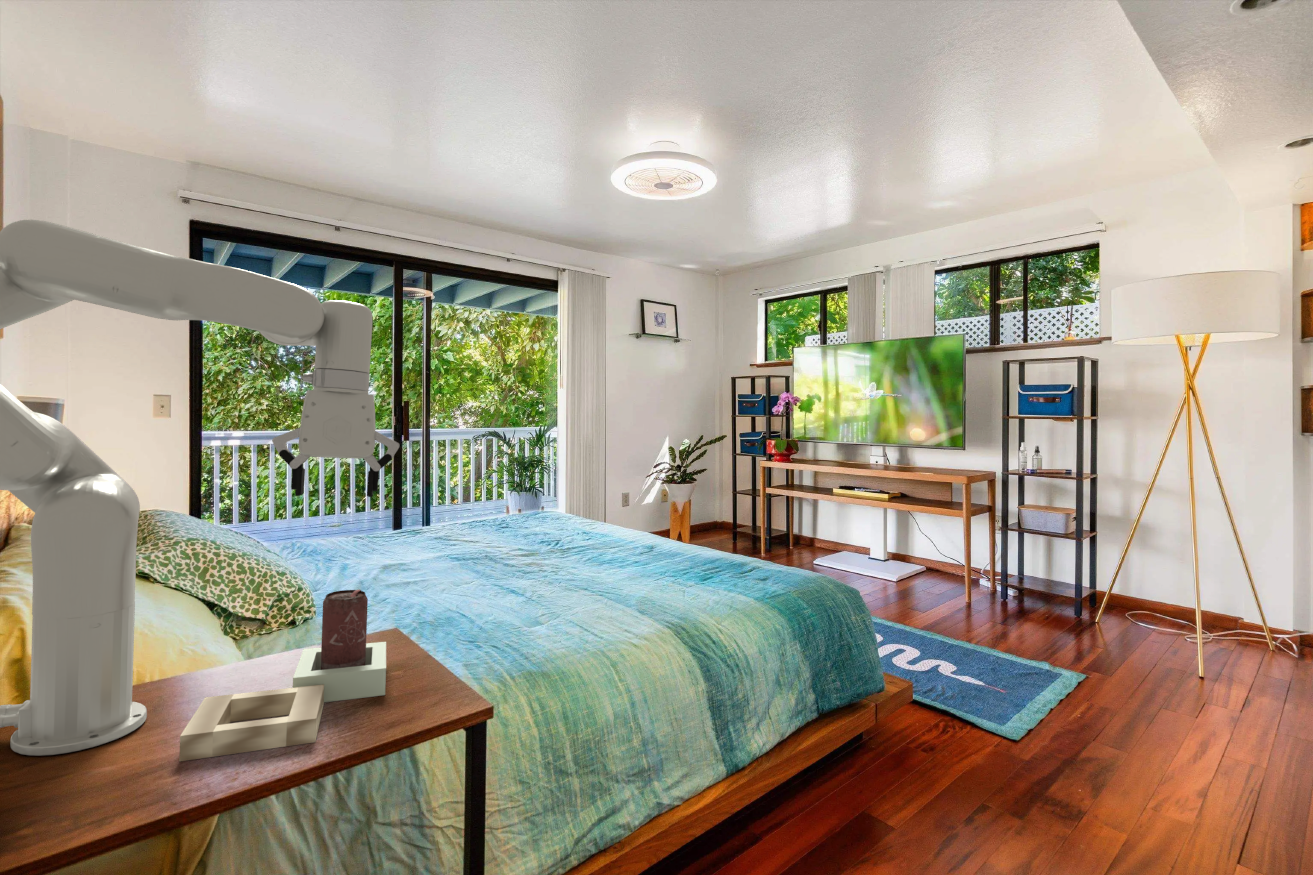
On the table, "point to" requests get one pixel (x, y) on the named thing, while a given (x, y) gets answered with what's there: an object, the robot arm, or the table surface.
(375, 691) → the pale green square frame
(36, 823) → the table surface
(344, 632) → the can
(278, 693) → the socket block
